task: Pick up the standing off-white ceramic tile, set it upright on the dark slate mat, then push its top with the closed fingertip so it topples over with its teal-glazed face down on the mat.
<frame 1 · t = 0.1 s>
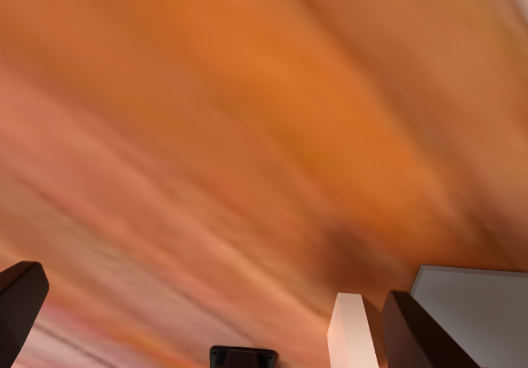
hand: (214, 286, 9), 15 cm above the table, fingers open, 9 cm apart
mat: (480, 319, 31), on the table
tile: (343, 315, 31), on the table
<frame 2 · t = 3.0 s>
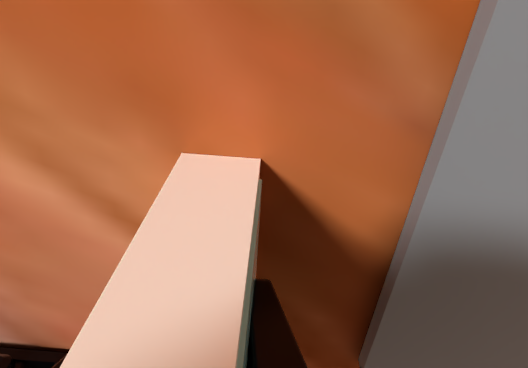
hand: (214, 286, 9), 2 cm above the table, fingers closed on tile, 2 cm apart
tile: (221, 246, 10), on the table, touching gripper
when the fingers open (3 cm above the table, at t = 6.2 s): tile stays where it is, resting on mat.
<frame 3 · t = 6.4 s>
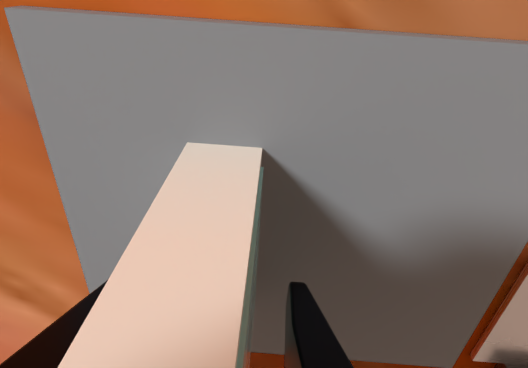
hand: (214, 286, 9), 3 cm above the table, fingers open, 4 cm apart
turner: (517, 357, 14), on the table
mat: (291, 227, 11), on the table
tile: (224, 233, 11), point 1 cm above the table, touching mat
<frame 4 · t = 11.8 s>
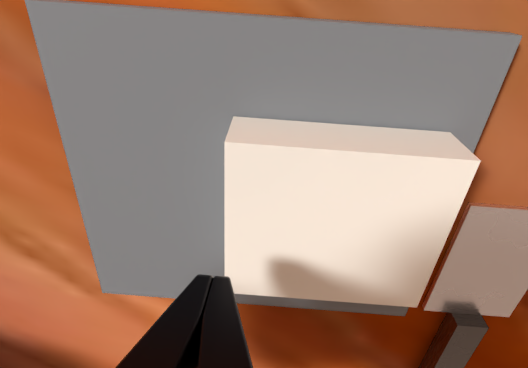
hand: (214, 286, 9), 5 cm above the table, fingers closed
turner: (463, 308, 16), on the table
mat: (261, 187, 13), on the table
tile: (228, 209, 12), point 2 cm above the table, tilted 90°, touching mat
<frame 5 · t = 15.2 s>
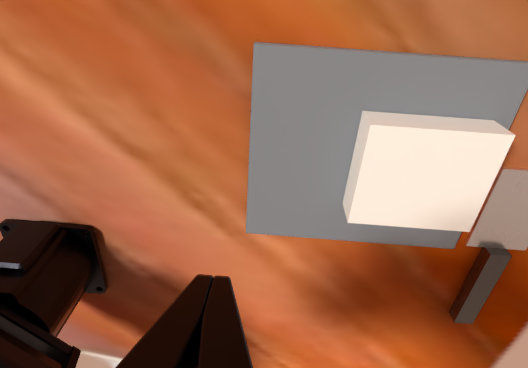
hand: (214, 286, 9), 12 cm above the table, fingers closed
turner: (493, 245, 24), on the table
mat: (367, 157, 21), on the table
tile: (354, 168, 19), point 2 cm above the table, tilted 90°, touching mat
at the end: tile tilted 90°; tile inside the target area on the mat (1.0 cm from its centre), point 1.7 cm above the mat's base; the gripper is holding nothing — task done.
